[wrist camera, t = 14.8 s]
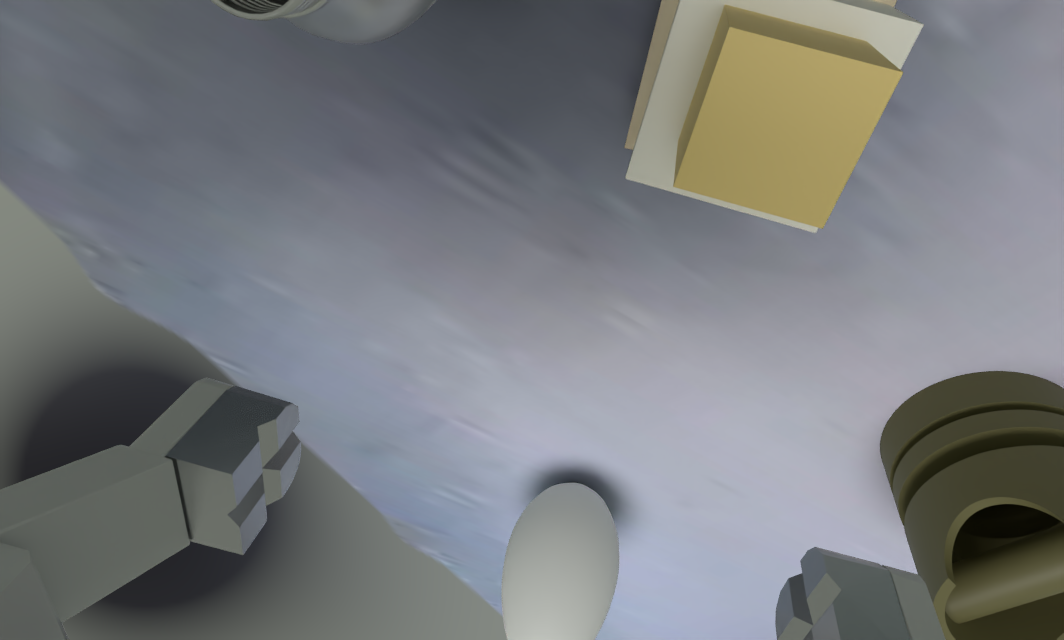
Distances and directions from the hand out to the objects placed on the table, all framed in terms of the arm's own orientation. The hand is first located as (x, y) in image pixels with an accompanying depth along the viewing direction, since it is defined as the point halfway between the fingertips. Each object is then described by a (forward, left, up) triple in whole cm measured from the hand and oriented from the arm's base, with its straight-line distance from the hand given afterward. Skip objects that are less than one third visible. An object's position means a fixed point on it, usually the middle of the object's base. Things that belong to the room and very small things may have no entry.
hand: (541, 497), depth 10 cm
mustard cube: (+4, +3, -19) cm, 20 cm away
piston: (+26, -17, -29) cm, 42 cm away
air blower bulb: (+3, -32, -29) cm, 43 cm away
